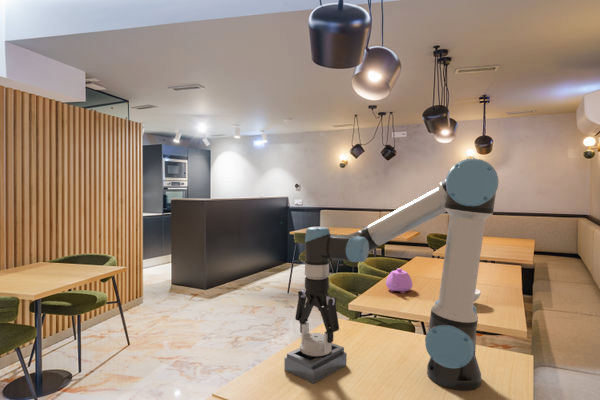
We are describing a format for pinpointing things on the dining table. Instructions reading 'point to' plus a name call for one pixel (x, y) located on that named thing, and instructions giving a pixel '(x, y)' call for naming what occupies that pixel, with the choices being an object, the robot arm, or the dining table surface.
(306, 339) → the mechanical component
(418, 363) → the dining table surface
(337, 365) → the dark grey rectangular box
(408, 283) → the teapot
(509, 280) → the dining table surface
